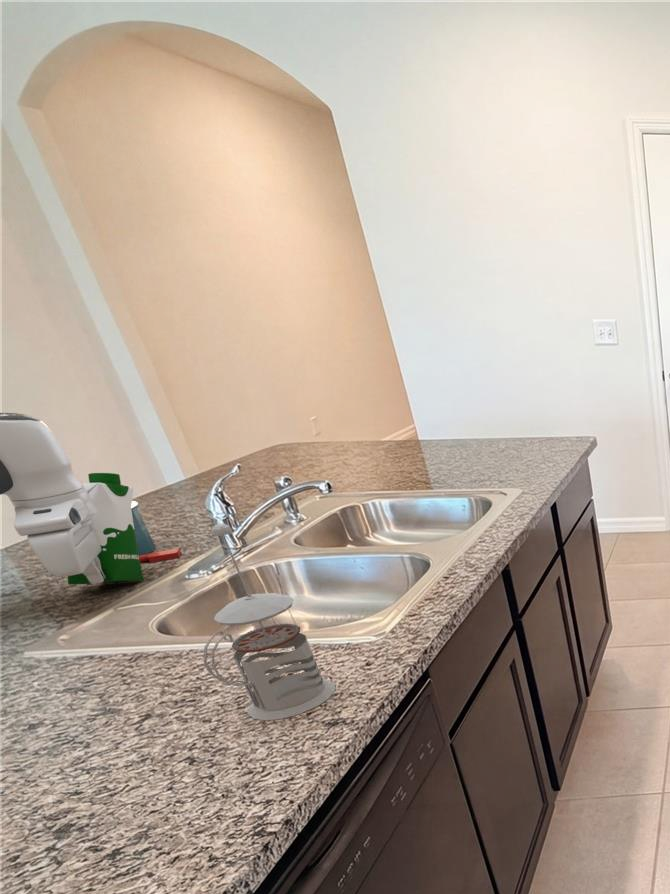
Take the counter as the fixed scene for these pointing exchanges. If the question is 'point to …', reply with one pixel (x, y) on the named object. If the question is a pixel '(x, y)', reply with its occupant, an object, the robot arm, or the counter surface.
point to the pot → (142, 535)
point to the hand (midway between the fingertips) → (99, 581)
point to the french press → (270, 655)
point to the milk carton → (112, 530)
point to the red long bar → (160, 555)
